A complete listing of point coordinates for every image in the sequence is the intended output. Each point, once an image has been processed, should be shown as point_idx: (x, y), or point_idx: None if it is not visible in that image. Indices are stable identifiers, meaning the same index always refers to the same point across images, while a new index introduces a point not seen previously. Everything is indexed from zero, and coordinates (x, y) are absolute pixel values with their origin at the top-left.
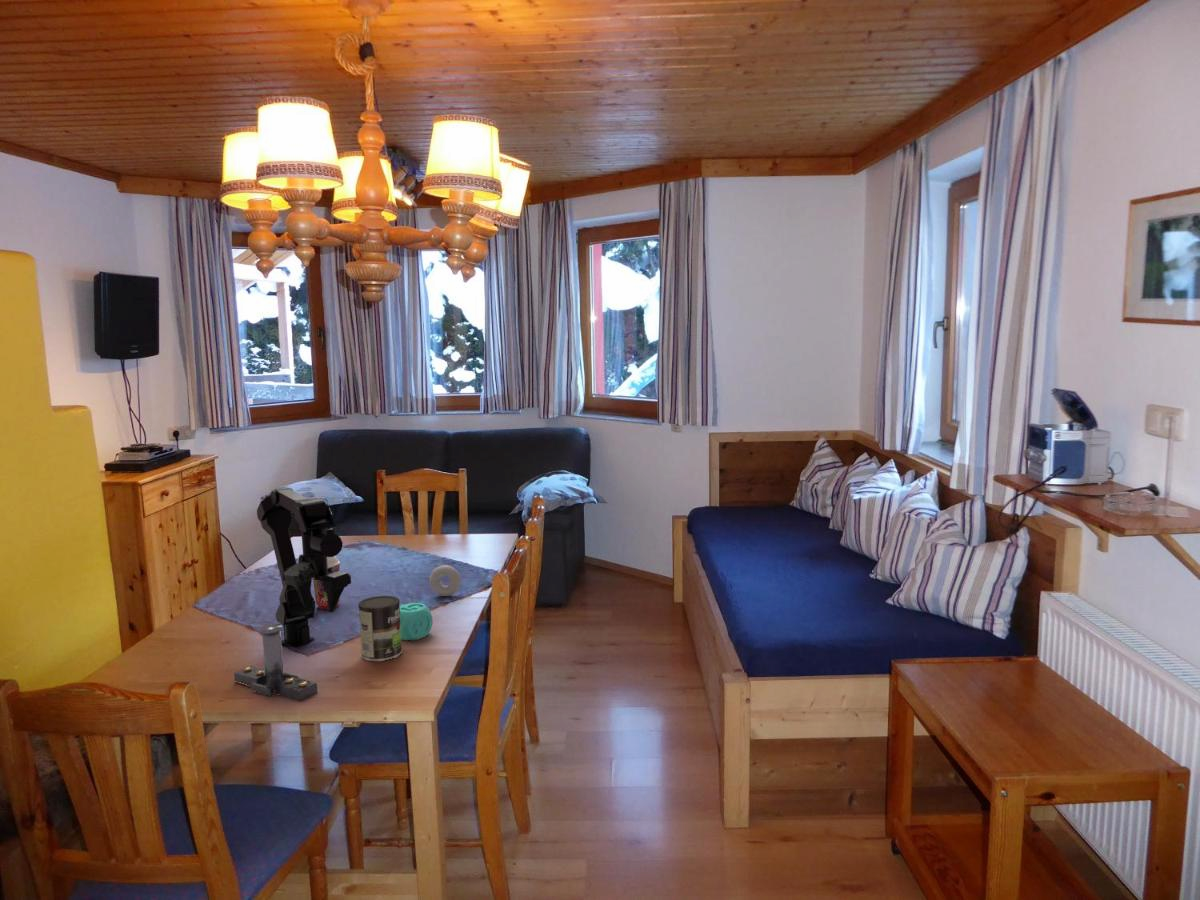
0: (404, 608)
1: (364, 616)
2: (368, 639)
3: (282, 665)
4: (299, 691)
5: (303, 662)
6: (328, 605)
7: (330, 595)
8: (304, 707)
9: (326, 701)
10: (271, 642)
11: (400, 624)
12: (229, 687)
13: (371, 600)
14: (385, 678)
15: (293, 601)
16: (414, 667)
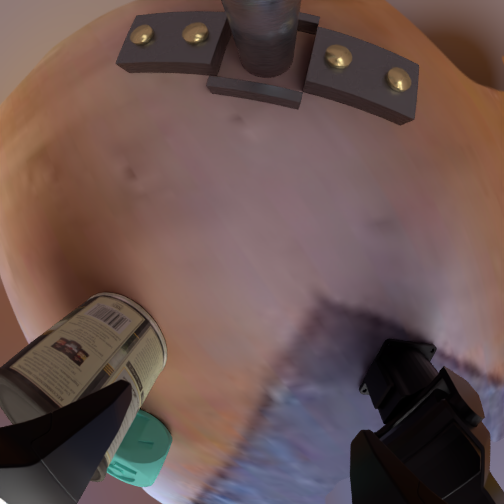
0: (133, 471)
1: (41, 369)
2: (80, 321)
3: (231, 29)
4: (137, 16)
5: (304, 246)
6: (102, 406)
7: (10, 431)
8: (124, 17)
9: (92, 55)
10: None
11: (138, 438)
12: (393, 46)
13: None
14: (40, 206)
15: (443, 445)
16: (31, 275)
